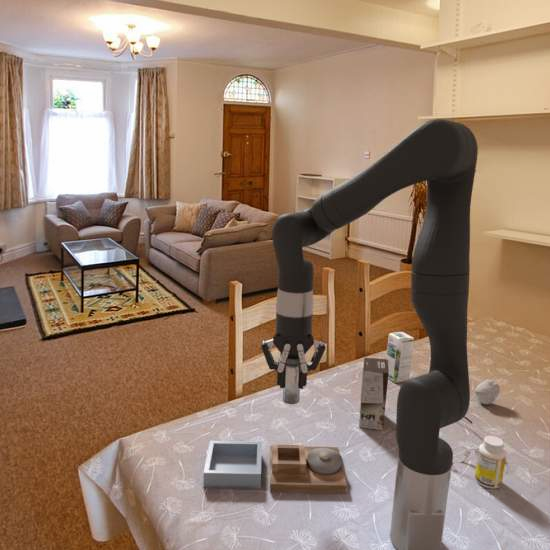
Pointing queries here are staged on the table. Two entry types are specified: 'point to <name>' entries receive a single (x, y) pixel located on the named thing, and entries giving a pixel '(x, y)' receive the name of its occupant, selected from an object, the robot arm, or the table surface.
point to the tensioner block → (306, 469)
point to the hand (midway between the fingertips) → (291, 386)
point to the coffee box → (373, 393)
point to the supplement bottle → (490, 462)
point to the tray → (233, 465)
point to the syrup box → (399, 356)
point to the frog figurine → (487, 391)
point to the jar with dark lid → (291, 380)
